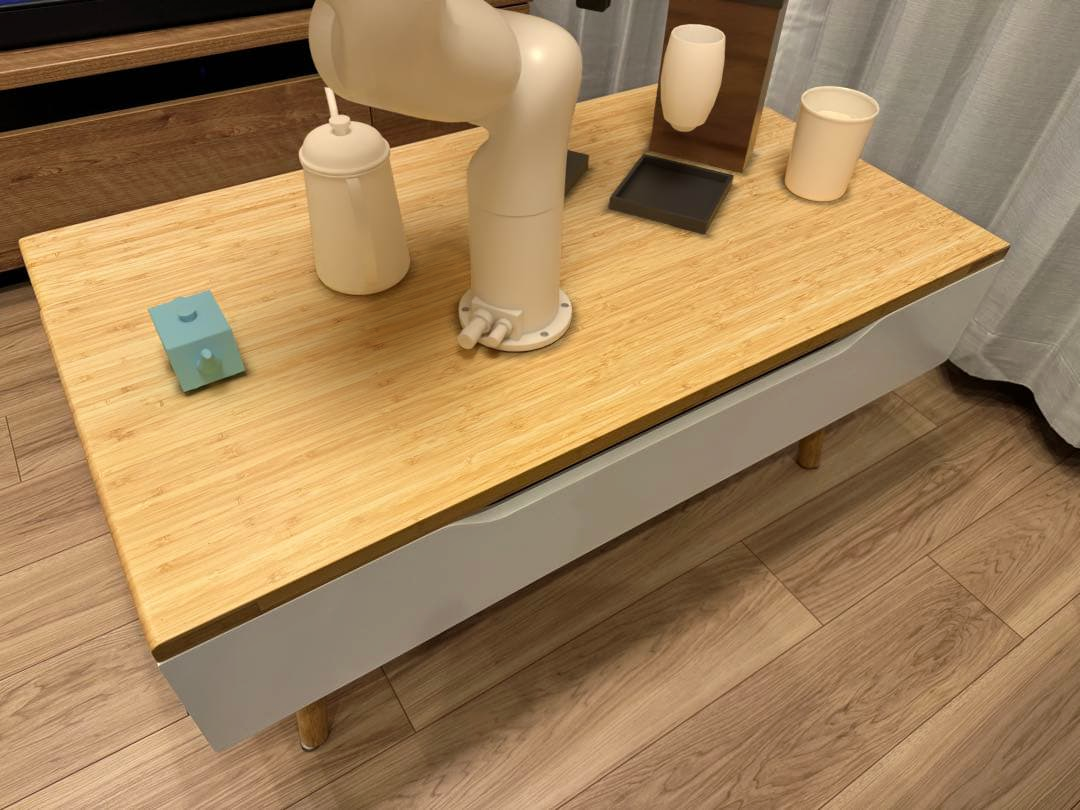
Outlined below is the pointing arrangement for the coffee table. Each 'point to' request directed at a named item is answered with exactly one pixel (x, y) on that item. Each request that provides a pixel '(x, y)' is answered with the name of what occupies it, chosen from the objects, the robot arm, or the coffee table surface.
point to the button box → (574, 168)
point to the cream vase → (691, 75)
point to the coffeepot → (353, 206)
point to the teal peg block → (197, 339)
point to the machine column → (725, 80)
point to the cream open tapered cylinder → (828, 141)
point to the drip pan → (672, 193)
